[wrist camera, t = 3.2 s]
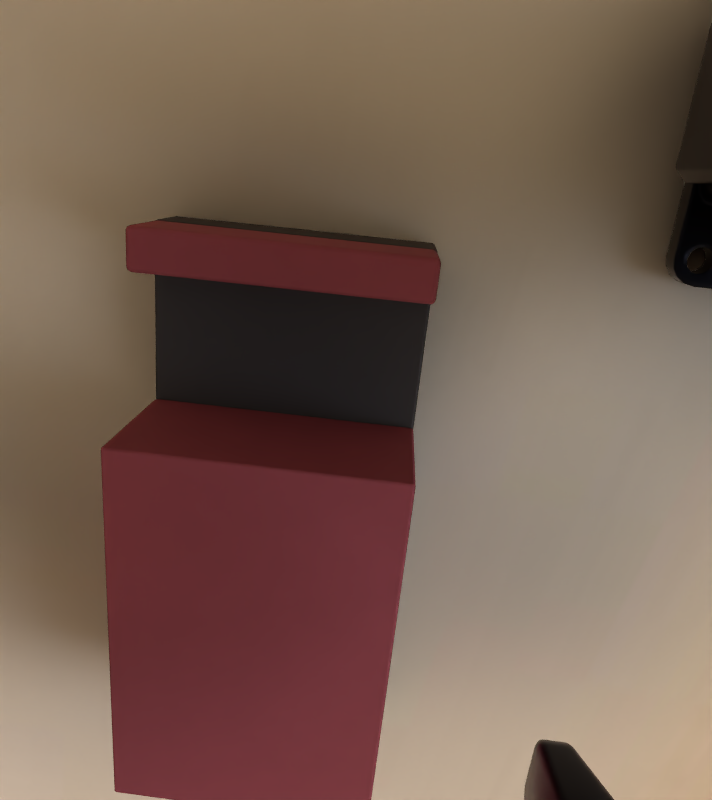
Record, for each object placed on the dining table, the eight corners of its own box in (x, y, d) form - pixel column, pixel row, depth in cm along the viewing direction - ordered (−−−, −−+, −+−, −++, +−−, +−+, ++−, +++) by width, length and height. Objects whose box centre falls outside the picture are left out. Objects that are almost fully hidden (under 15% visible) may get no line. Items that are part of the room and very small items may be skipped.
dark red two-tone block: (434, 243, 13) (446, 268, 10) (373, 701, 17) (365, 840, 14) (174, 215, 13) (90, 230, 10) (174, 675, 17) (114, 806, 14)
